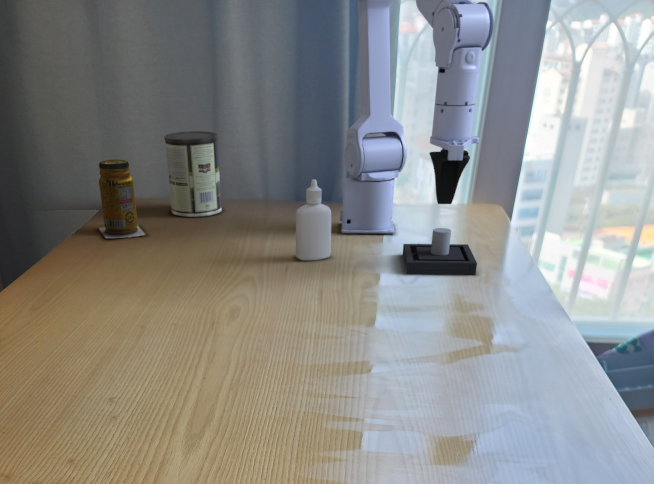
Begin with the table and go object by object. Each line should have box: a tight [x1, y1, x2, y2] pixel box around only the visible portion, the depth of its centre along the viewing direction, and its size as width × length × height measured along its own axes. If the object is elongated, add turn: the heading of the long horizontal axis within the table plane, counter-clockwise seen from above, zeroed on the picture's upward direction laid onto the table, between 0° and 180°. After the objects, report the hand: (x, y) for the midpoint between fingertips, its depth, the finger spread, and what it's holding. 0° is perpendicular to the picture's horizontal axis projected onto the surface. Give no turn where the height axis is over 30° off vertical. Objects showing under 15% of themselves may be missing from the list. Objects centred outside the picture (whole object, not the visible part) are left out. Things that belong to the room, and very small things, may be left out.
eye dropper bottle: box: [295, 179, 332, 262], centre depth 120 cm, size 4×6×12 cm
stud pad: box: [415, 227, 465, 261], centre depth 118 cm, size 7×7×5 cm
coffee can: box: [163, 130, 223, 218], centre depth 148 cm, size 10×10×14 cm
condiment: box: [98, 159, 146, 239], centre depth 135 cm, size 7×8×12 cm
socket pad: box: [402, 243, 478, 276], centre depth 119 cm, size 10×10×2 cm
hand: (444, 203), depth 115 cm, fingers closed
